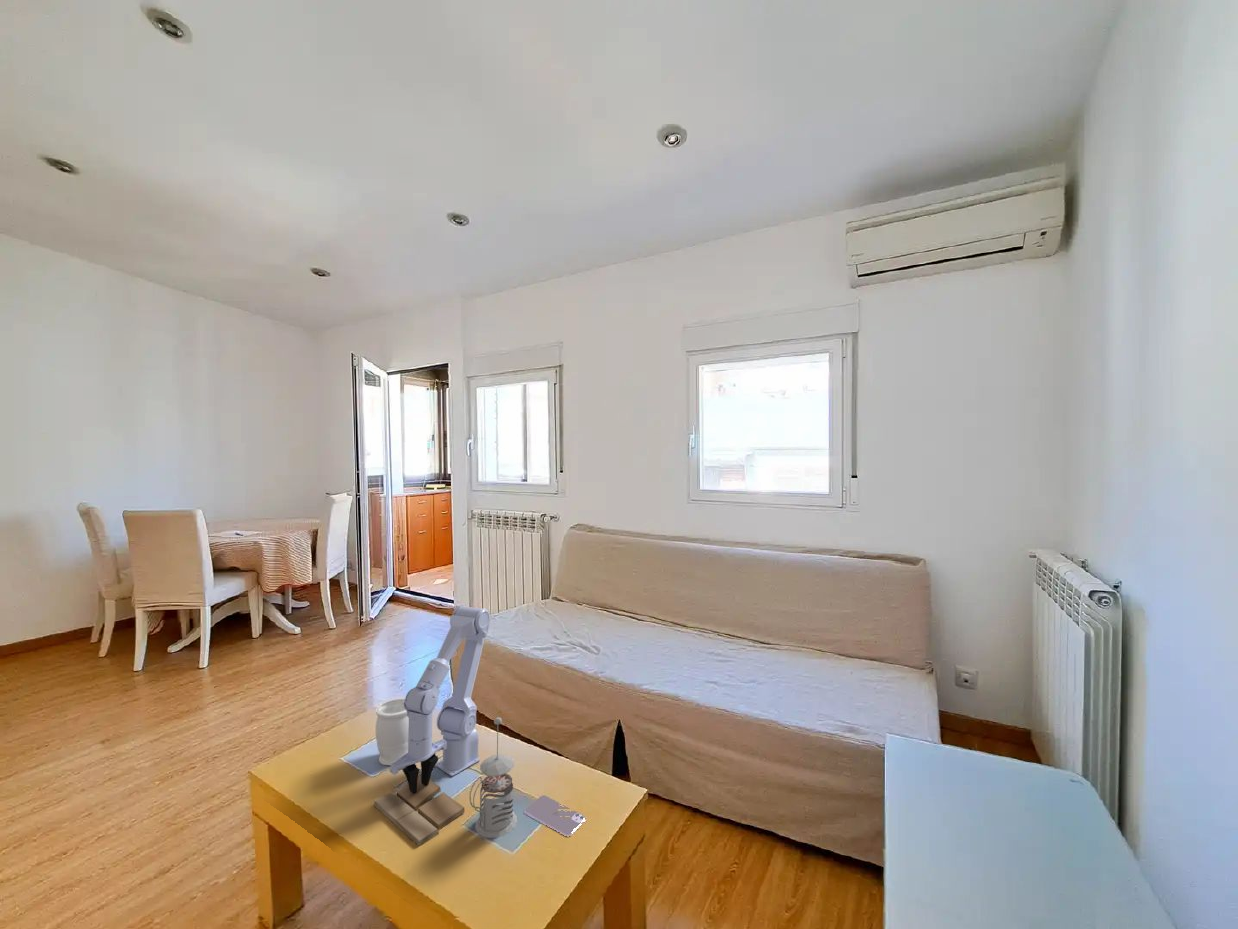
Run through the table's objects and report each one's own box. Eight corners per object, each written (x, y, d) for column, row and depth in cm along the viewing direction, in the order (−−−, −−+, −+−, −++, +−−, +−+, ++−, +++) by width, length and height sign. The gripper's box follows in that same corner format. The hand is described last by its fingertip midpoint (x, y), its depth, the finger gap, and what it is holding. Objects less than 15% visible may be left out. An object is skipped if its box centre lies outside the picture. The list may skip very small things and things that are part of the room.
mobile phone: (543, 792, 125) (589, 816, 117) (543, 796, 125) (589, 820, 117) (522, 810, 119) (569, 836, 110) (522, 814, 119) (569, 840, 110)
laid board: (392, 795, 124) (392, 790, 124) (438, 833, 111) (438, 828, 111) (374, 805, 120) (374, 800, 120) (419, 846, 107) (419, 840, 107)
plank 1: (421, 777, 129) (421, 773, 129) (440, 790, 124) (440, 786, 124) (397, 795, 124) (396, 791, 124) (415, 811, 118) (415, 806, 118)
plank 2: (443, 797, 123) (443, 792, 123) (464, 812, 118) (464, 807, 118) (418, 813, 118) (418, 808, 118) (438, 830, 112) (438, 824, 112)
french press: (525, 822, 115) (526, 718, 115) (481, 849, 107) (483, 736, 107) (503, 802, 122) (504, 703, 122) (460, 826, 114) (462, 720, 114)
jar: (421, 754, 142) (422, 704, 142) (388, 773, 133) (389, 719, 133) (400, 743, 147) (401, 694, 148) (367, 760, 139) (368, 708, 139)
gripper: (436, 719, 132) (435, 769, 132) (384, 742, 121) (383, 796, 121) (451, 727, 128) (450, 779, 128) (399, 752, 117) (397, 809, 116)
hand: (418, 788), depth 124 cm, fingers open, 3 cm apart
